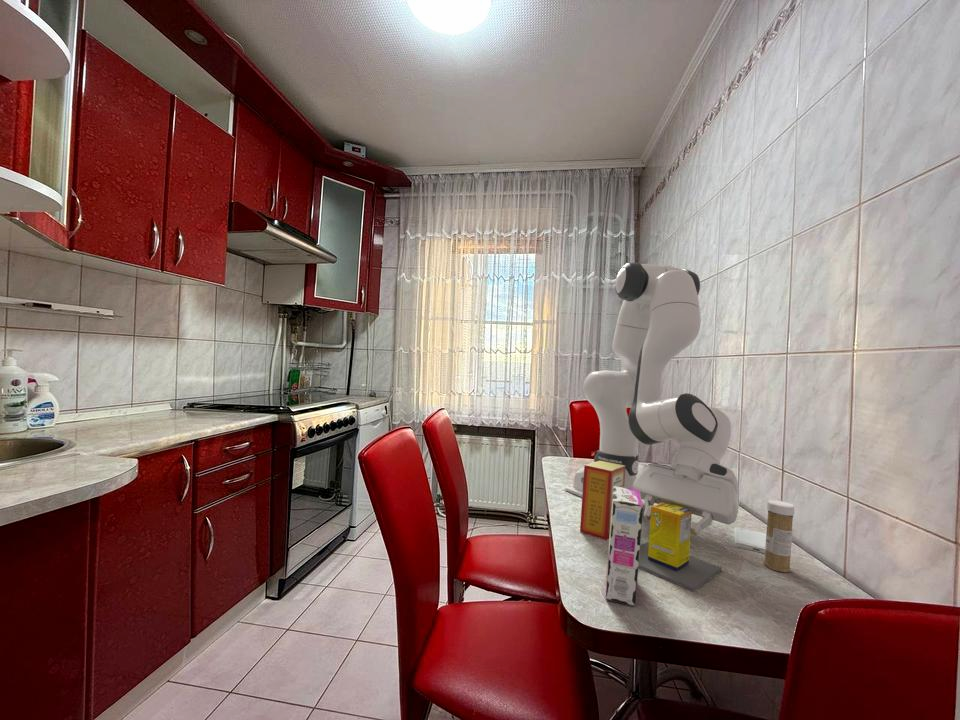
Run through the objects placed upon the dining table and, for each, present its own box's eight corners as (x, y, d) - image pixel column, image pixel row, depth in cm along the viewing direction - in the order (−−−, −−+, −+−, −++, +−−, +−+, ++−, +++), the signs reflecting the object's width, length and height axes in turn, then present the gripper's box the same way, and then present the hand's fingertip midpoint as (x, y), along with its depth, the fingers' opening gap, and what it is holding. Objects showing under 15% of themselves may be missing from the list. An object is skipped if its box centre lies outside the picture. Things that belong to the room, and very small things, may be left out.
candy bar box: (637, 608, 67) (644, 505, 68) (605, 600, 69) (611, 500, 69) (634, 577, 78) (640, 488, 78) (606, 571, 80) (612, 484, 80)
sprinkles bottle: (763, 560, 90) (766, 497, 90) (789, 567, 88) (793, 502, 88) (764, 568, 86) (768, 502, 86) (792, 575, 84) (795, 508, 84)
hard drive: (734, 526, 108) (735, 541, 97) (773, 534, 104) (778, 551, 93) (734, 532, 108) (734, 548, 97) (772, 541, 104) (778, 559, 93)
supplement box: (659, 553, 88) (663, 501, 89) (689, 564, 84) (692, 509, 84) (646, 560, 84) (650, 505, 85) (677, 572, 80) (680, 514, 80)
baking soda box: (595, 522, 106) (600, 458, 107) (621, 529, 102) (625, 464, 103) (579, 531, 99) (584, 463, 99) (606, 540, 95) (611, 469, 95)
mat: (616, 558, 86) (616, 555, 86) (649, 543, 95) (649, 540, 95) (693, 591, 74) (693, 587, 74) (721, 570, 84) (722, 567, 84)
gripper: (642, 452, 98) (617, 501, 91) (742, 473, 82) (721, 533, 76) (650, 469, 100) (626, 518, 94) (748, 492, 85) (728, 552, 78)
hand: (669, 525), depth 85 cm, fingers open, 8 cm apart
